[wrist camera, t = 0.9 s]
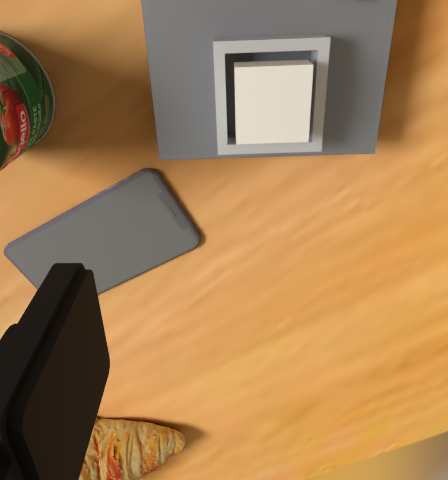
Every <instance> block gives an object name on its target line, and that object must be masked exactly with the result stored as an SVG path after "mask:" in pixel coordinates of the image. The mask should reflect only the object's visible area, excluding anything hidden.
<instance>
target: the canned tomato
mask: <svg viewBox="0 0 448 480" xmlns="http://www.w3.org/2000/svg"><path fill="white" fill-rule="evenodd" d="M55 111H56V98H55V93H54V88H53V85H52V82H51V80H50V77H49V75H48V73H47V71H46V70H45V68H44V66H43V65H42V63H41V62H40V61H39V59H38V58H37V57H36V56H35V55H34V53H33V52H32V51H30V50H29V49H28V48H27V47H26V46H25V45H24V44H22V43H21V42H19V41H18V40H16V39H14V38H13V37H11V36H9V35H7V34H4V33H2V32H0V171H1V170H2V169H3V168H5V167H6V166H7V165H8V164H10V163H11V162H12V161H14V160H15V159H16V158H18V157H19V156H20V155H21V154H23V153H24V152H25V151H27V150H28V149H29V148H30V147H32V146H33V145H35V144H36V143H38V142H39V141H40V140H41V139H43V137H44V136H45V135H46V134H47V132H48V131H49V130H50V127H51V125H52V123H53V121H54V116H55Z"/></svg>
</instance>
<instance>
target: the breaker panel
mask: <svg viewBox="0 0 448 480" xmlns="http://www.w3.org/2000/svg"><path fill="white" fill-rule="evenodd" d="M141 3H142V12H143V21H144V29H145V38H146V47H147V55H148V64H149V73H150V81H151V90H152V99H153V108H154V116H155V125H156V134H157V142H158V151H159V160H183V159H214V158H246V157H277V156H309V155H341V154H372V153H375V150H376V143H377V137H378V130H379V123H380V116H381V109H382V102H383V95H384V88H385V81H386V74H387V67H388V61H389V54H390V47H391V40H392V33H393V26H394V19H395V12H396V5H397V0H141ZM280 60H308V61H310V62H311V63H312V64H313V80H312V96H311V112H310V127H309V142H296V143H265V144H236V128H235V83H234V62H253V61H280Z"/></svg>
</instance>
